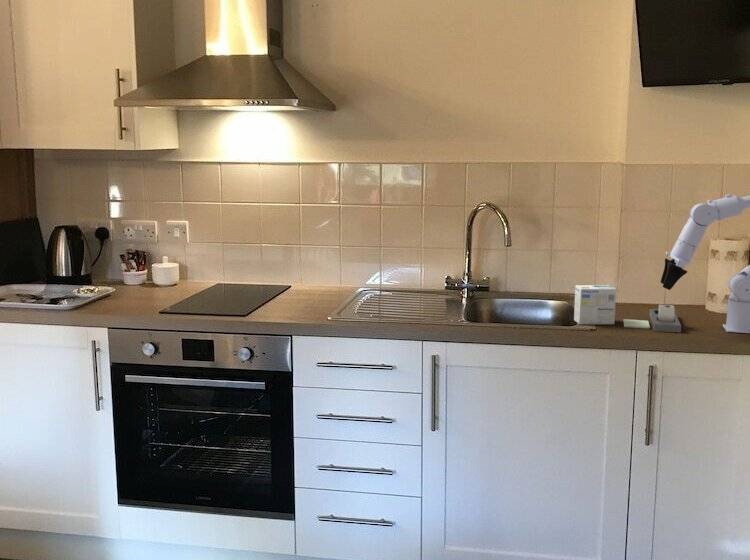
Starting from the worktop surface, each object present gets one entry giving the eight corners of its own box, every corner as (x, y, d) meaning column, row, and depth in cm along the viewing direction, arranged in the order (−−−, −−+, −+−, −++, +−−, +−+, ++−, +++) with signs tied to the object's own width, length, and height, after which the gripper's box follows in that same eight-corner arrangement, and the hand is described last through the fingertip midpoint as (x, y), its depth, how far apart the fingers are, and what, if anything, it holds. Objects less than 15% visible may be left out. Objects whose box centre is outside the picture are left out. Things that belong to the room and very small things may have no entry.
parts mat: (648, 322, 236) (648, 320, 236) (649, 328, 229) (649, 326, 228) (623, 320, 238) (623, 319, 238) (624, 326, 230) (624, 325, 230)
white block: (671, 325, 233) (673, 304, 232) (673, 328, 229) (674, 307, 228) (657, 324, 234) (658, 304, 233) (658, 327, 230) (660, 306, 229)
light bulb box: (607, 319, 240) (610, 284, 238) (615, 324, 233) (617, 288, 231) (572, 319, 239) (574, 284, 238) (579, 324, 233) (580, 288, 231)
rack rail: (673, 316, 244) (674, 310, 243) (680, 332, 224) (681, 325, 223) (649, 315, 245) (649, 308, 245) (654, 331, 225) (654, 324, 225)
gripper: (671, 235, 234) (650, 276, 237) (676, 240, 220) (653, 284, 223) (694, 244, 233) (672, 286, 236) (701, 251, 219) (677, 295, 222)
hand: (664, 286), depth 230 cm, fingers open, 7 cm apart
